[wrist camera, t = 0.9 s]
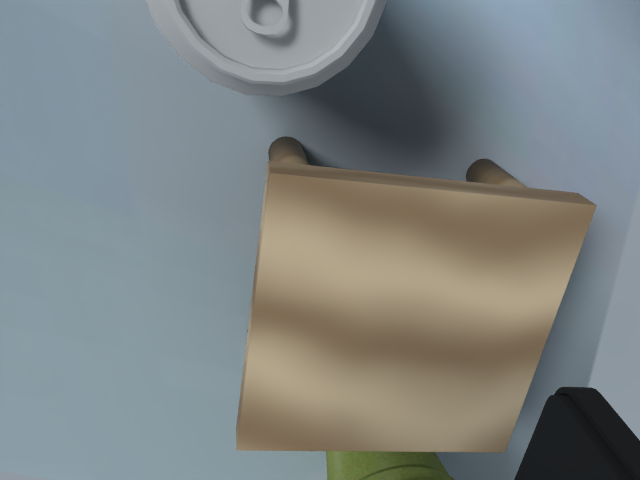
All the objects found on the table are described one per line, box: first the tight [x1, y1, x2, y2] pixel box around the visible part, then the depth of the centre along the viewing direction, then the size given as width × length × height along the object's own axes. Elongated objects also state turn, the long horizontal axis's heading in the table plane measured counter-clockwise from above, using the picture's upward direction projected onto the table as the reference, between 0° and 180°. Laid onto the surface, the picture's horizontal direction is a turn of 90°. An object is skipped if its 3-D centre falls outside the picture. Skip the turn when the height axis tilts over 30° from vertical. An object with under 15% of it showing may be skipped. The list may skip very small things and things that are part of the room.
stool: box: [236, 137, 597, 452], centre depth 30 cm, size 14×14×8 cm
